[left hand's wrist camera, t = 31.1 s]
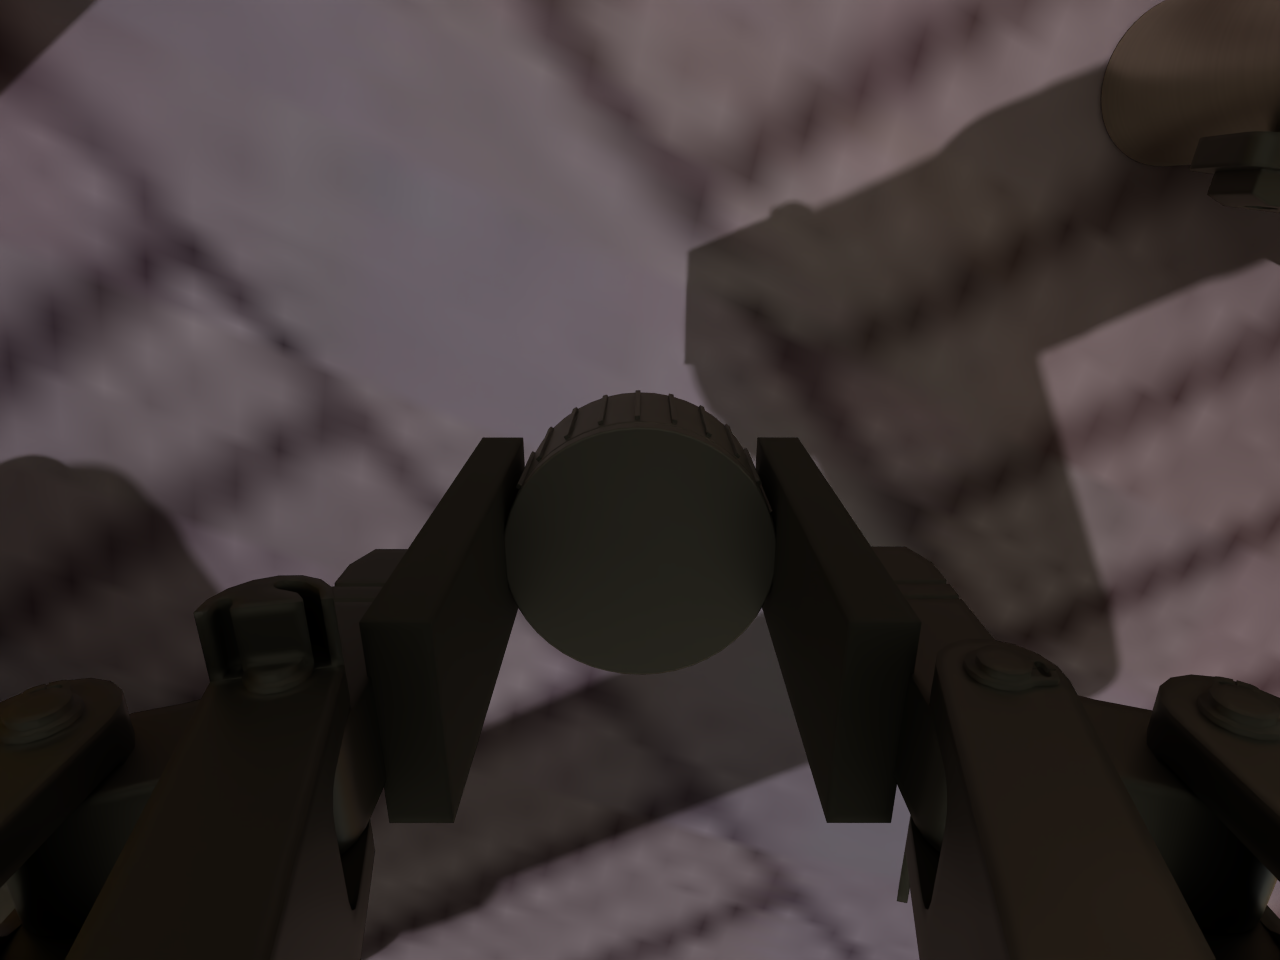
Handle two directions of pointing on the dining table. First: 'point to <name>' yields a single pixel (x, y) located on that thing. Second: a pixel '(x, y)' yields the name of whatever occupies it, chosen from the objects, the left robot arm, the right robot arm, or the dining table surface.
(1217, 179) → the right robot arm
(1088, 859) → the left robot arm
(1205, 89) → the bottle
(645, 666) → the cap
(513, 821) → the dining table surface
